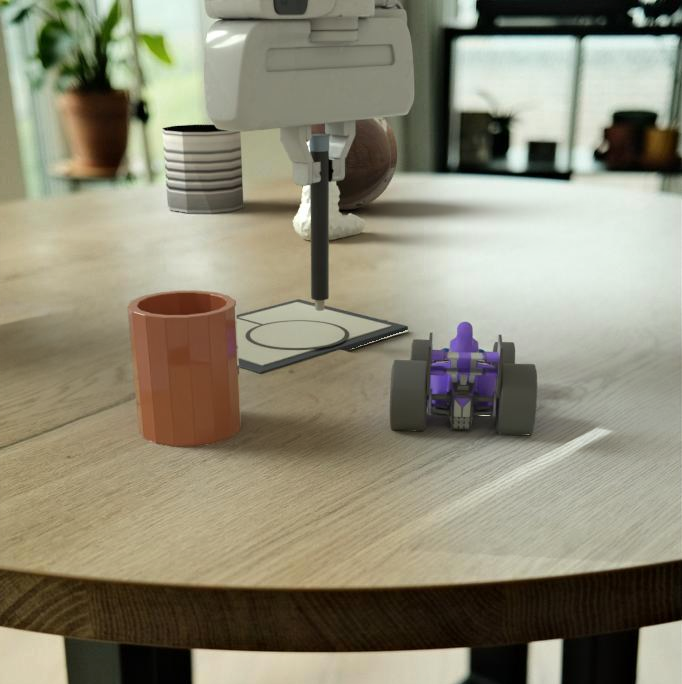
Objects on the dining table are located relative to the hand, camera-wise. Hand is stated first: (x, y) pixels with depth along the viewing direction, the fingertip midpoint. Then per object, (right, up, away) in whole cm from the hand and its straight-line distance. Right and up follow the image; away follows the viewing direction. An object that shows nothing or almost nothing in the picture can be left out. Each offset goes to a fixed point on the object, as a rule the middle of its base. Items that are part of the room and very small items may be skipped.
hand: (318, 182), depth 83 cm
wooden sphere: (+2, +17, +66) cm, 68 cm away
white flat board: (-3, -11, +7) cm, 14 cm away
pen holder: (-8, -21, -14) cm, 27 cm away
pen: (0, -9, +5) cm, 11 cm away
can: (-18, +18, +68) cm, 72 cm away
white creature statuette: (-1, +8, +48) cm, 48 cm away
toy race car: (+10, -19, -9) cm, 24 cm away
